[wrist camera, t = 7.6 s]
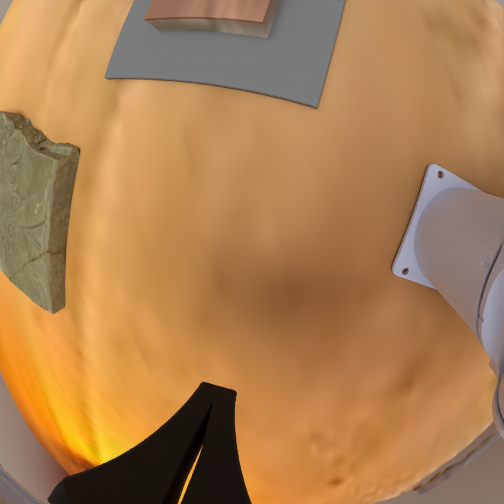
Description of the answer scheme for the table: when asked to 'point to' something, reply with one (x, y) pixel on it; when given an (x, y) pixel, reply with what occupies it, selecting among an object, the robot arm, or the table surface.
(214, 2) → the slab
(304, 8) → the mat
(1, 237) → the decorative tile
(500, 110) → the table surface
